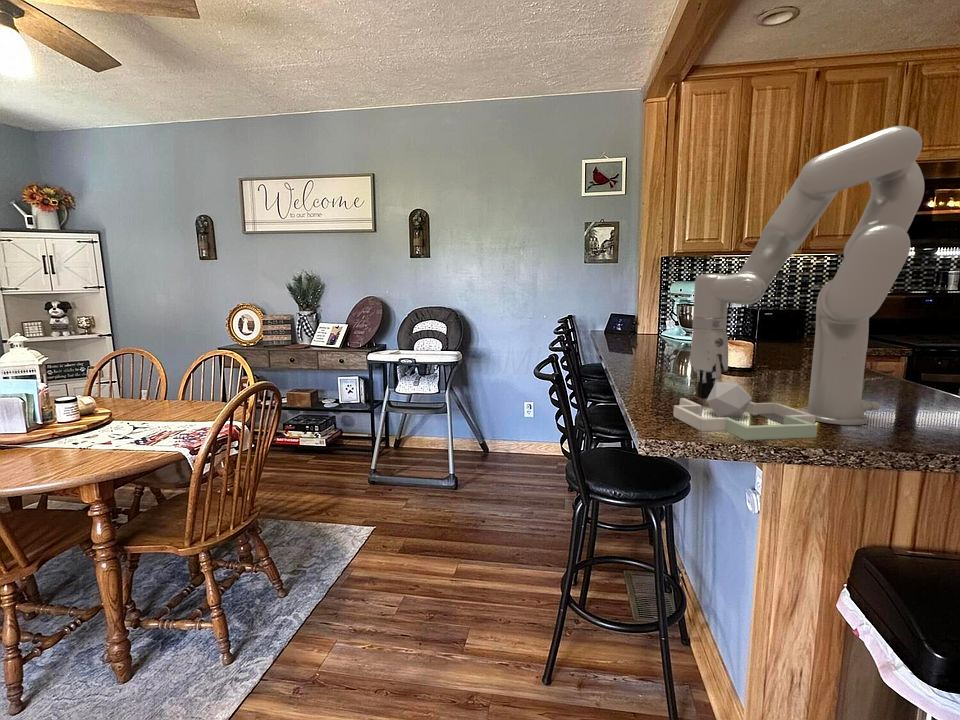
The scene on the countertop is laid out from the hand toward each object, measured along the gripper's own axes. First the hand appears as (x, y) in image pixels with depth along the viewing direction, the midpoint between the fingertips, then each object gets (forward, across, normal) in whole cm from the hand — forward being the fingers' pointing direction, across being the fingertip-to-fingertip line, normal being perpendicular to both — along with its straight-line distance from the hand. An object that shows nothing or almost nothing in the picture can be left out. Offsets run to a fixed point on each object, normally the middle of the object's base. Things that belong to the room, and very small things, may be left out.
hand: (705, 397), depth 124 cm
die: (+2, -10, 0) cm, 10 cm away
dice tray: (+2, -15, 0) cm, 15 cm away
